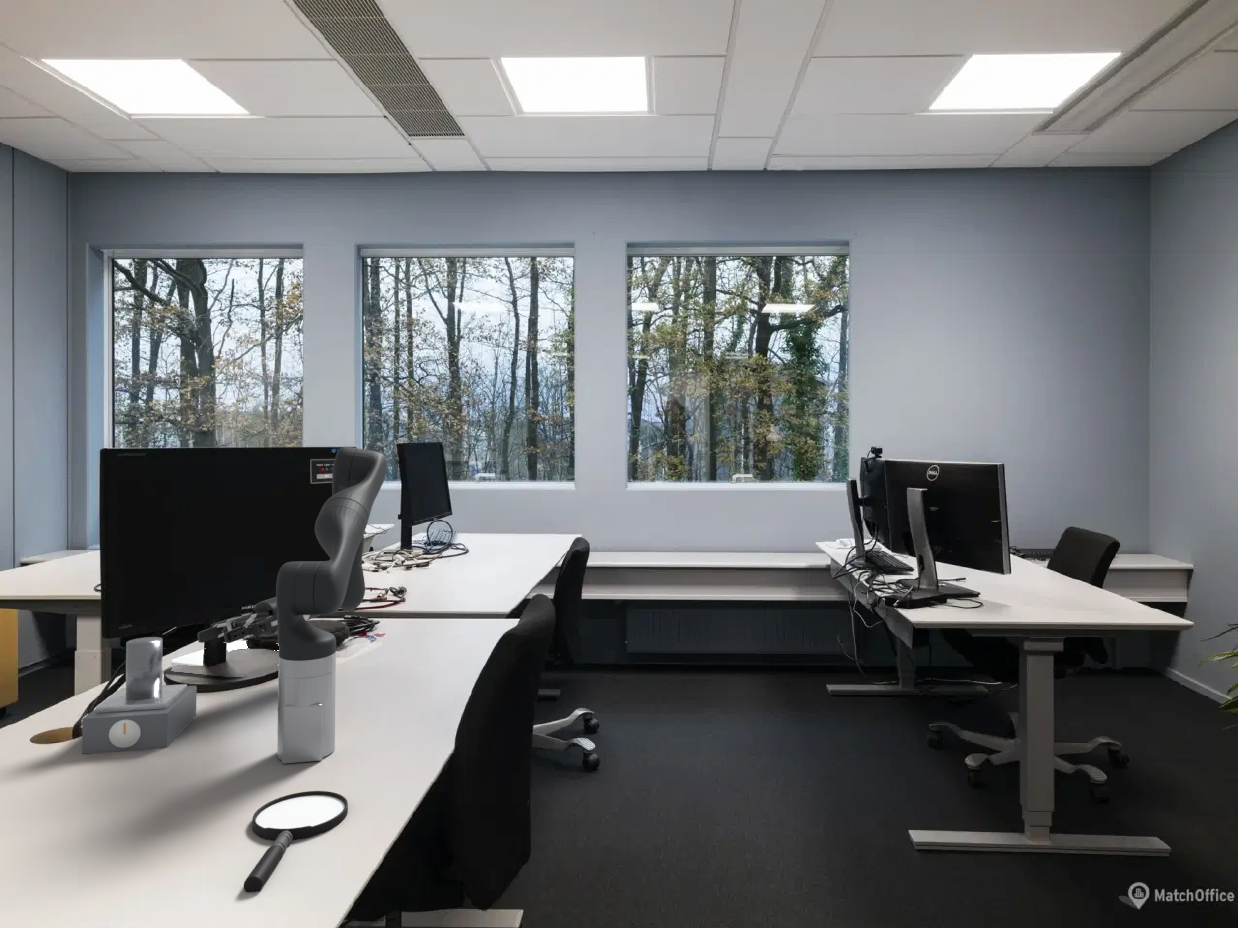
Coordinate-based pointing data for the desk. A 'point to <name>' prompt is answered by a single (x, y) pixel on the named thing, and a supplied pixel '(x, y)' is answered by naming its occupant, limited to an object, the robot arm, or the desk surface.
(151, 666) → the cylinder
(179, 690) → the scale pan
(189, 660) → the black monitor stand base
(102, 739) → the scale base
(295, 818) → the magnifying glass
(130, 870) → the desk surface
